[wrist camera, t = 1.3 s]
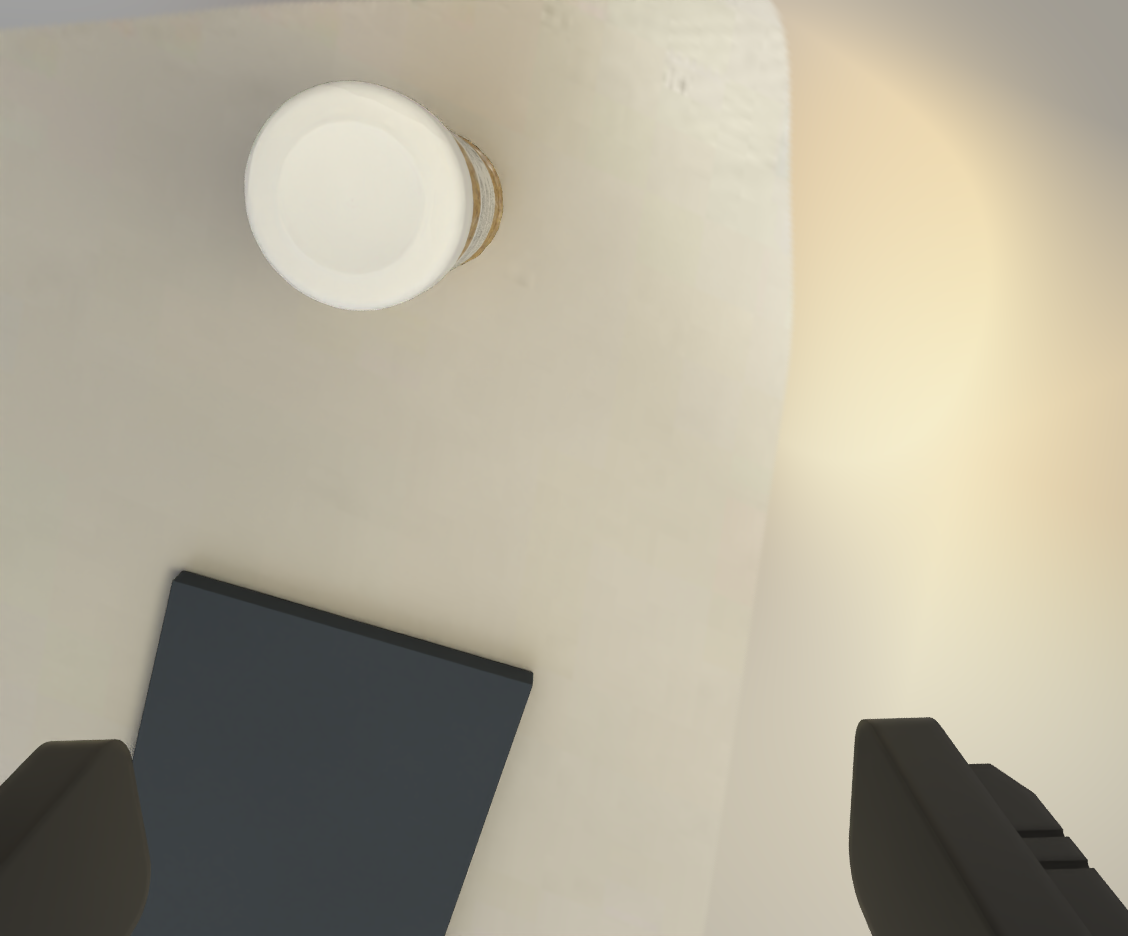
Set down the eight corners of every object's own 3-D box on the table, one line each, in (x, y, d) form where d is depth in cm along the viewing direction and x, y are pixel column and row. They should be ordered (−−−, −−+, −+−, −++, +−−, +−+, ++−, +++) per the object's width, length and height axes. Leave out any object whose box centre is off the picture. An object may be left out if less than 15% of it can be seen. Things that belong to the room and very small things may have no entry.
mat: (183, 569, 35) (172, 580, 34) (533, 672, 36) (532, 685, 35) (75, 1043, 41) (64, 1063, 40) (377, 1118, 42) (373, 1139, 42)
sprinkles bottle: (345, 201, 31) (190, 198, 18) (436, 100, 30) (340, 22, 18) (443, 297, 32) (361, 358, 19) (534, 201, 31) (512, 199, 18)
